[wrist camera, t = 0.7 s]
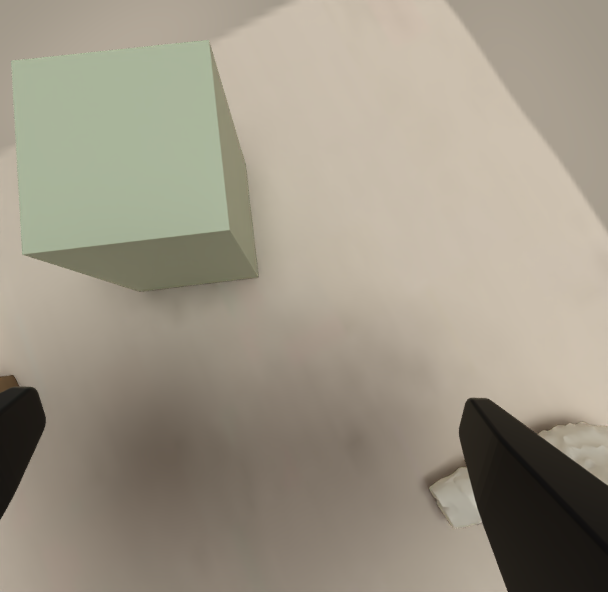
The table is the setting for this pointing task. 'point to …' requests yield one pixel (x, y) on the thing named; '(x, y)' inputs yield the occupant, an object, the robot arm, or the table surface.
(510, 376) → the table surface
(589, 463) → the white creature statuette
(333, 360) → the table surface
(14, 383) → the brown box
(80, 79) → the mint green pillar
